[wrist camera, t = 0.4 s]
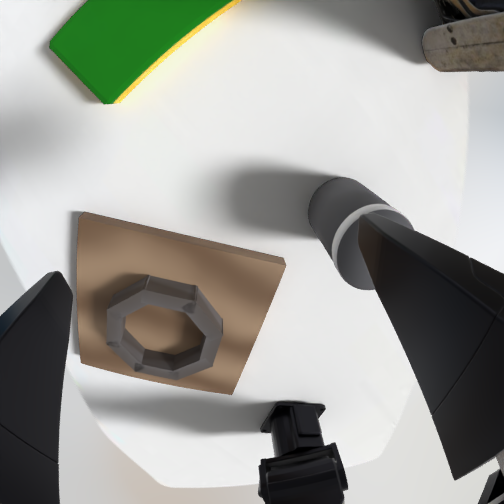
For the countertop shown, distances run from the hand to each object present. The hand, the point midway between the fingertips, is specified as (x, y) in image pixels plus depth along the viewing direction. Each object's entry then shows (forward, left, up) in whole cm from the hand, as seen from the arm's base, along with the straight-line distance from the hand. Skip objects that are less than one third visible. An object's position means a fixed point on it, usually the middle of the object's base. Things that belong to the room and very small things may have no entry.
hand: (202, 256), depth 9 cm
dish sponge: (+10, +7, -15) cm, 19 cm away
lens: (-1, -10, -14) cm, 18 cm away
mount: (-14, +1, -14) cm, 20 cm away
